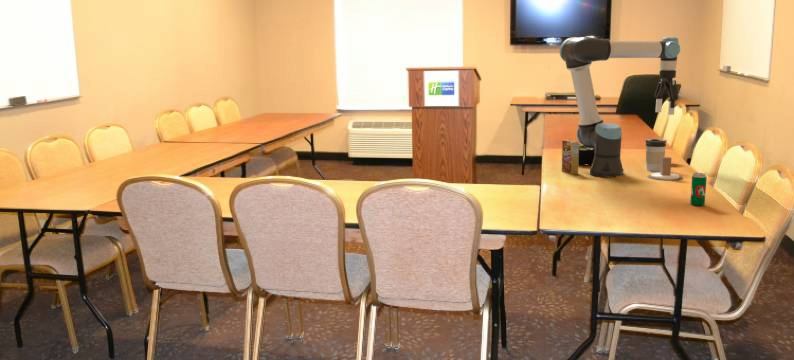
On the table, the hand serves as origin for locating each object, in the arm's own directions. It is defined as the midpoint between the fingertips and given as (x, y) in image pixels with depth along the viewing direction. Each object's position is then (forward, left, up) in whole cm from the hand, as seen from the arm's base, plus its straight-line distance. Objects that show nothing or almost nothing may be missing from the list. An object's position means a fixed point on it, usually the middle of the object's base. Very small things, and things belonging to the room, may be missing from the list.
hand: (664, 113), depth 333 cm
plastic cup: (+4, +8, -26) cm, 28 cm away
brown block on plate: (-25, -26, -25) cm, 44 cm away
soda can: (-53, -68, -26) cm, 90 cm away
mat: (-25, -26, -26) cm, 44 cm away
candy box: (-51, +8, -26) cm, 58 cm away
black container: (-29, +23, -26) cm, 45 cm away
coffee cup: (-16, -11, -26) cm, 32 cm away
